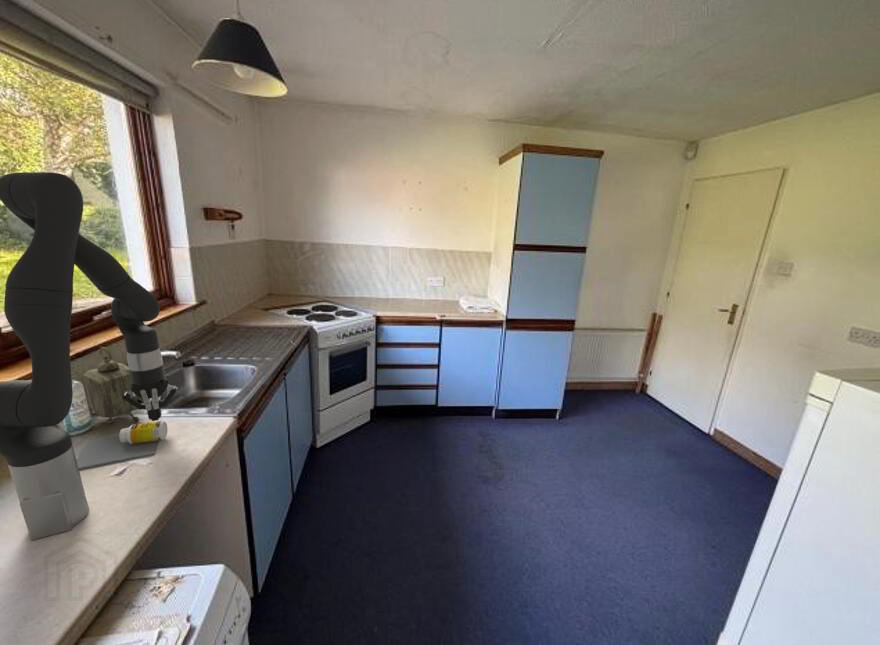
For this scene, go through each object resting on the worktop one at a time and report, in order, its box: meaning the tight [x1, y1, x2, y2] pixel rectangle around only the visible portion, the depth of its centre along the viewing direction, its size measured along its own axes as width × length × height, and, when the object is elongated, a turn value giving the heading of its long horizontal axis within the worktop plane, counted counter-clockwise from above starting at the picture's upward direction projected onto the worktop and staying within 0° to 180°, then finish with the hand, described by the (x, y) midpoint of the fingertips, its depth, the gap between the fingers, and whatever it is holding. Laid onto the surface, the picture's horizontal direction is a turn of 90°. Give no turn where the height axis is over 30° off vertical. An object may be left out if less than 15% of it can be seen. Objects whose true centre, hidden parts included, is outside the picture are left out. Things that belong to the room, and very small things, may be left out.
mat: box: [76, 434, 160, 471], centre depth 104 cm, size 14×18×1 cm
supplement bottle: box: [119, 420, 168, 444], centre depth 106 cm, size 6×6×10 cm
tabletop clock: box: [81, 346, 142, 425], centre depth 114 cm, size 14×9×25 cm, turn 61°
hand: (155, 419), depth 106 cm, fingers closed
